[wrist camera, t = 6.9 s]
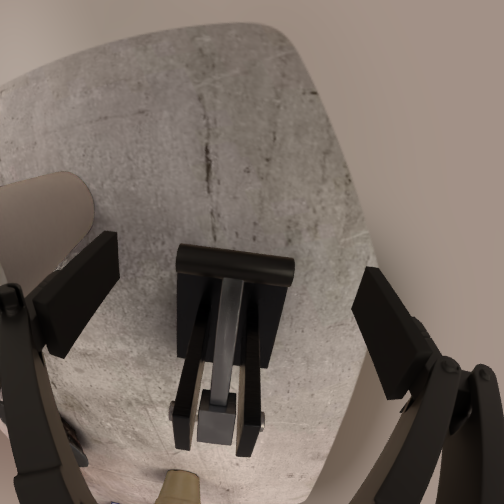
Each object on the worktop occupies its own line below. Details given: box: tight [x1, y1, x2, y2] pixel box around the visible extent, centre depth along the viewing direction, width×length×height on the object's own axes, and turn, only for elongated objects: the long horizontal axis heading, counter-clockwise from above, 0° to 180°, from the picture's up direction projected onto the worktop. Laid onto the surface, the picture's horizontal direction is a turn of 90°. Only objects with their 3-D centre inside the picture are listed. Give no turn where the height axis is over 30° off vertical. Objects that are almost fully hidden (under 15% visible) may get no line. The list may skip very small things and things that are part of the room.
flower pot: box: [154, 470, 201, 504], centre depth 40 cm, size 9×9×9 cm
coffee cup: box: [0, 171, 94, 298], centre depth 16 cm, size 10×10×15 cm
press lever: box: [176, 243, 295, 445], centre depth 16 cm, size 12×6×2 cm, turn 172°
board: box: [0, 400, 89, 467], centre depth 36 cm, size 22×22×5 cm
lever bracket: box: [169, 273, 288, 457], centre depth 21 cm, size 10×9×13 cm
